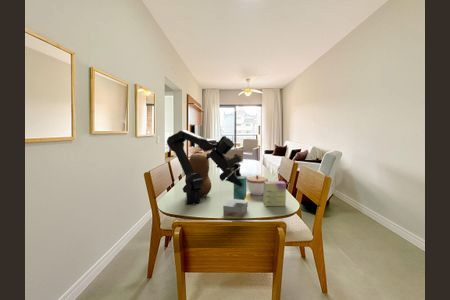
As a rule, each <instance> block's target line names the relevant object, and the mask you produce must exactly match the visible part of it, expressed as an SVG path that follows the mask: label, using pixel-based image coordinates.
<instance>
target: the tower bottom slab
mask: <svg viewBox="0 0 450 300" xmlns="http://www.w3.org/2000/svg"><path fill="white" fill-rule="evenodd" d="M222 211H223V210H222ZM247 211H248V207H247V208H246V209H245V211H244V212H243V213H235V212H227V211H223V212H222V213H223V214H222V215H223V216H227V217H235V218H244V216H245V215H244V214H246V213H247Z"/></svg>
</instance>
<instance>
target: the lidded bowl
mask: <svg viewBox="0 0 450 300" xmlns="http://www.w3.org/2000/svg"><path fill="white" fill-rule="evenodd" d="M264 181H269V178H268V177H265V176H259V175H256V176H249V177H247V180H246V188H247V190H248V191H249V193H251V195H253V196H261V195H264Z"/></svg>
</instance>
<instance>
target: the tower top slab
mask: <svg viewBox="0 0 450 300" xmlns="http://www.w3.org/2000/svg"><path fill="white" fill-rule="evenodd" d="M248 202H249V201H245V200H237V199H229V200H228V201H227V202H226V203H224V204H223V205H222V207H223V209H222V211H227V212H235V213H243V212H244V211H245V209H246V208H247V209H248V205H249V203H248Z"/></svg>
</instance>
